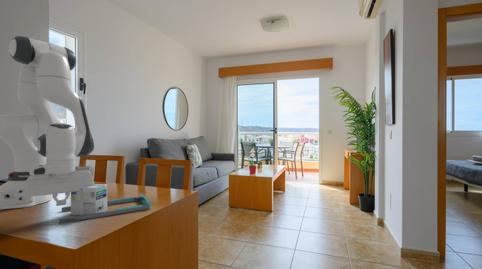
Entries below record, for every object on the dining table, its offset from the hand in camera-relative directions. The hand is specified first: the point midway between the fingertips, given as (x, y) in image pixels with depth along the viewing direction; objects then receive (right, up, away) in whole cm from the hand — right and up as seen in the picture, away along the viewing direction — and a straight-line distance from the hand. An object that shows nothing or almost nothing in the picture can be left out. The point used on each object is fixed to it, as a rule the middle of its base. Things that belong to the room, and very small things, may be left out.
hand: (61, 205), depth 88 cm
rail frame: (+13, -4, +9) cm, 16 cm away
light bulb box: (+7, -5, +5) cm, 10 cm away
